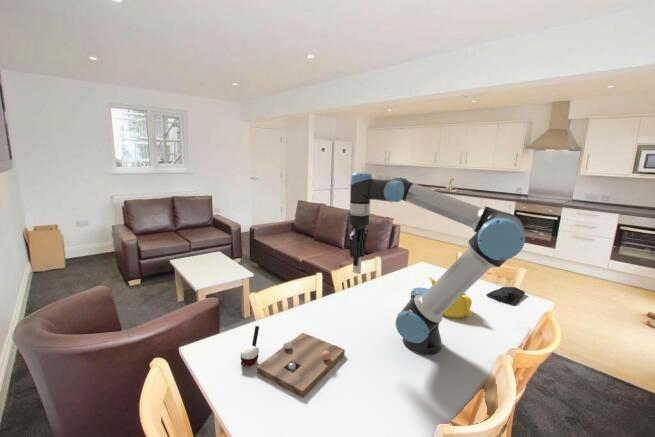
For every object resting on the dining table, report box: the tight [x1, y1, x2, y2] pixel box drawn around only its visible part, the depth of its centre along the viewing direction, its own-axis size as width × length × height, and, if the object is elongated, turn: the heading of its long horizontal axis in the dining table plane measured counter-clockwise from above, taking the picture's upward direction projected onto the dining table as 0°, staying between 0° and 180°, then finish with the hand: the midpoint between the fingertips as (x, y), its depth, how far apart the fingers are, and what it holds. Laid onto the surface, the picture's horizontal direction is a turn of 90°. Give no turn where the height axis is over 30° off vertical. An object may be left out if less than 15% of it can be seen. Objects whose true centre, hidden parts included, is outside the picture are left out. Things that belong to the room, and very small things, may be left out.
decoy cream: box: [282, 339, 292, 349], centre depth 118 cm, size 3×3×3 cm
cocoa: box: [239, 325, 260, 367], centre depth 112 cm, size 10×6×12 cm, turn 133°
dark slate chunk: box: [486, 286, 526, 306], centre depth 174 cm, size 15×22×5 cm
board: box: [256, 332, 346, 399], centre depth 113 cm, size 20×26×2 cm
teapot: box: [429, 276, 473, 319], centre depth 156 cm, size 25×18×14 cm
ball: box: [287, 363, 296, 373], centre depth 109 cm, size 3×3×3 cm
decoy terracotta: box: [322, 351, 331, 360], centre depth 112 cm, size 3×3×3 cm
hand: (356, 272), depth 123 cm, fingers closed
